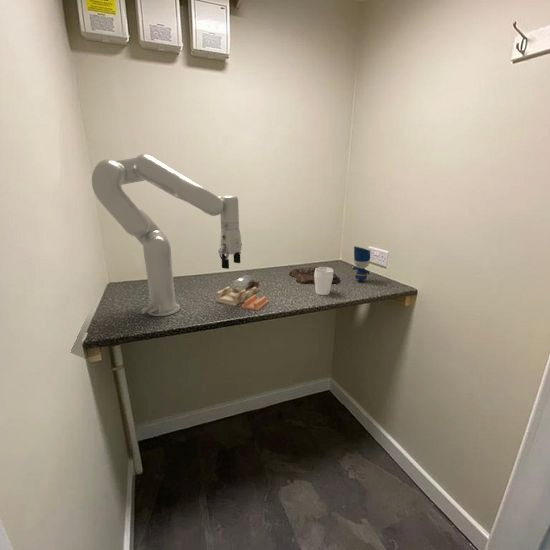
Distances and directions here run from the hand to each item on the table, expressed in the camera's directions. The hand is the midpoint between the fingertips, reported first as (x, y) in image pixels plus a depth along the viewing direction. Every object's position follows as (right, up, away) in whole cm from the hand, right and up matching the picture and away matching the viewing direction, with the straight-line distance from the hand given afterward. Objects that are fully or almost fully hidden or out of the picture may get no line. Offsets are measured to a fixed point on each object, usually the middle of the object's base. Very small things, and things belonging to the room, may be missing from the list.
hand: (231, 265), depth 125 cm
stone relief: (+42, -6, +38) cm, 57 cm away
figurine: (+65, -8, +32) cm, 73 cm away
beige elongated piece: (+2, -14, +9) cm, 17 cm away
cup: (+42, -13, +15) cm, 47 cm away
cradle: (+10, -17, 0) cm, 20 cm away
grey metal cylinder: (+4, -11, +12) cm, 17 cm away
